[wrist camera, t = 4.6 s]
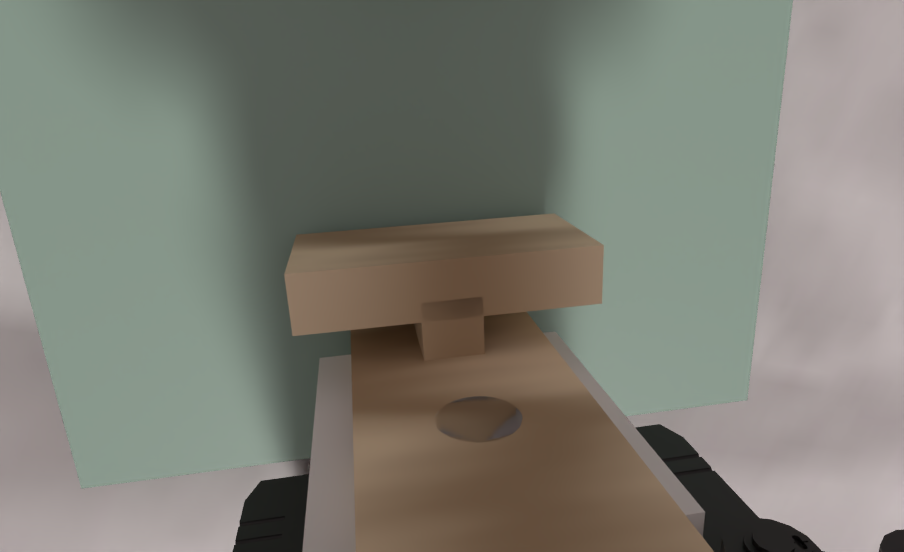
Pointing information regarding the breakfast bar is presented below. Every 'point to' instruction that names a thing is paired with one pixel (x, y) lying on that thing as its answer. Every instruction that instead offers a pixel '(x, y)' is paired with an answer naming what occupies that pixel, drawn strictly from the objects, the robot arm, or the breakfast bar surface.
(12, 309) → the breakfast bar surface
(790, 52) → the breakfast bar surface
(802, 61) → the breakfast bar surface
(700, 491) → the robot arm
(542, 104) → the pitch board
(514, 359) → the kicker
